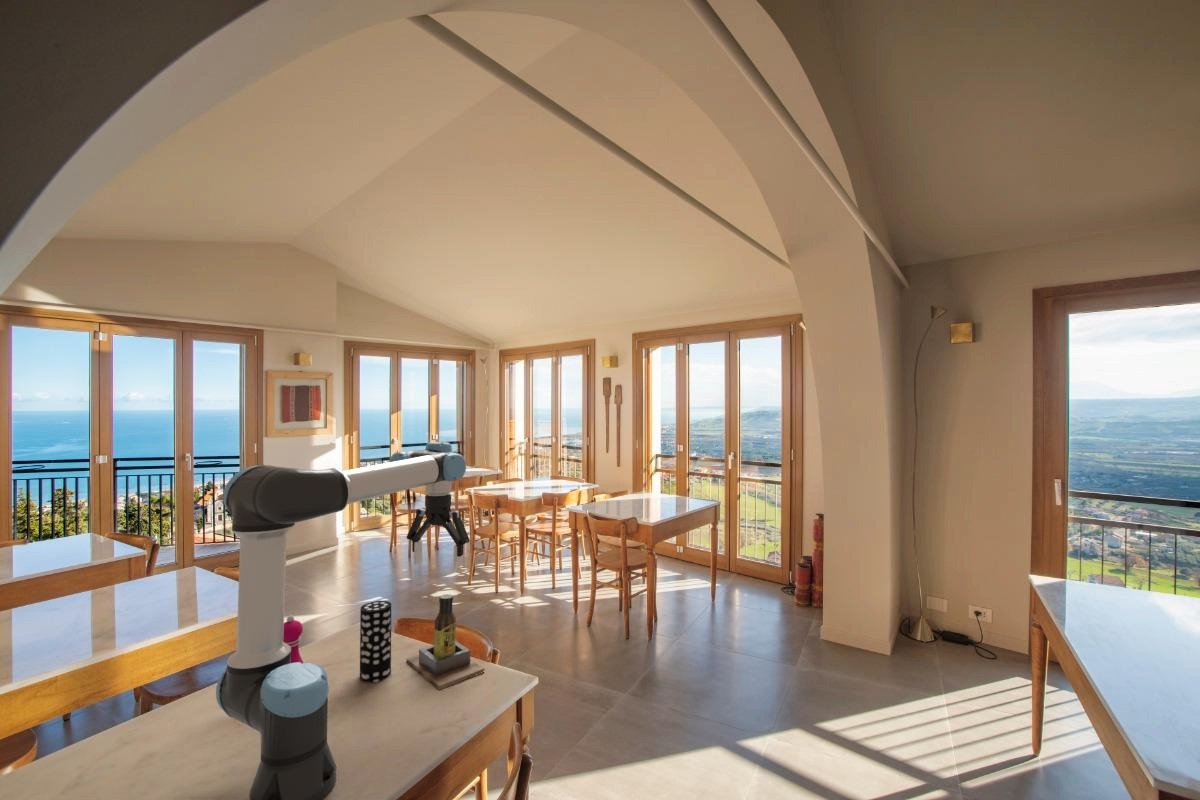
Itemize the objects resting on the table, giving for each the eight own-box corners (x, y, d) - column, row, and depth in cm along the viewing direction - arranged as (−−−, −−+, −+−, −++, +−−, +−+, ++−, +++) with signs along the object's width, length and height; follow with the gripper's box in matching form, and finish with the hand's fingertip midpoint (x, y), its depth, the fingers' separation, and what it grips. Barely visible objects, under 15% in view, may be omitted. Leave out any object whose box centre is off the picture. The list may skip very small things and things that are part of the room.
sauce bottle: (445, 670, 152) (446, 601, 153) (428, 666, 155) (429, 598, 155) (459, 660, 158) (460, 594, 159) (443, 656, 161) (444, 591, 161)
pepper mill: (290, 696, 140) (291, 621, 140) (267, 693, 142) (268, 619, 142) (310, 683, 147) (311, 611, 148) (288, 680, 149) (289, 609, 149)
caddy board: (484, 672, 153) (484, 668, 153) (439, 689, 144) (439, 685, 144) (448, 647, 169) (448, 644, 169) (406, 661, 160) (406, 658, 160)
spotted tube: (359, 671, 153) (360, 603, 154) (390, 666, 157) (390, 599, 157) (359, 685, 146) (360, 613, 146) (391, 678, 149) (392, 608, 150)
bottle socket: (470, 663, 156) (470, 650, 156) (435, 676, 149) (435, 662, 149) (452, 651, 164) (452, 638, 164) (418, 663, 157) (419, 649, 157)
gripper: (481, 494, 156) (480, 565, 155) (411, 490, 164) (410, 558, 163) (468, 497, 149) (467, 572, 148) (395, 493, 156) (393, 564, 156)
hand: (437, 565), depth 156 cm, fingers open, 13 cm apart
